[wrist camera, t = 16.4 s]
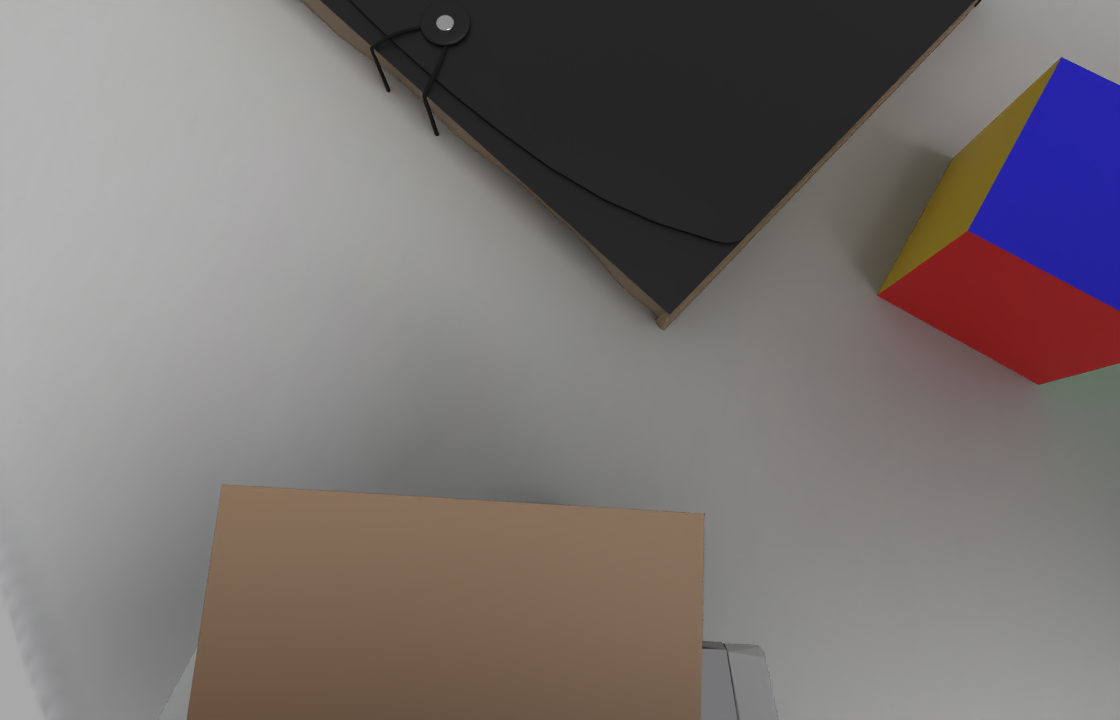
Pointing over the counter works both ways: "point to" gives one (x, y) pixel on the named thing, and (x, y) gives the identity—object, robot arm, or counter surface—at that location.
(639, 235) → the black book
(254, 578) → the walnut block
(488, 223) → the counter surface
